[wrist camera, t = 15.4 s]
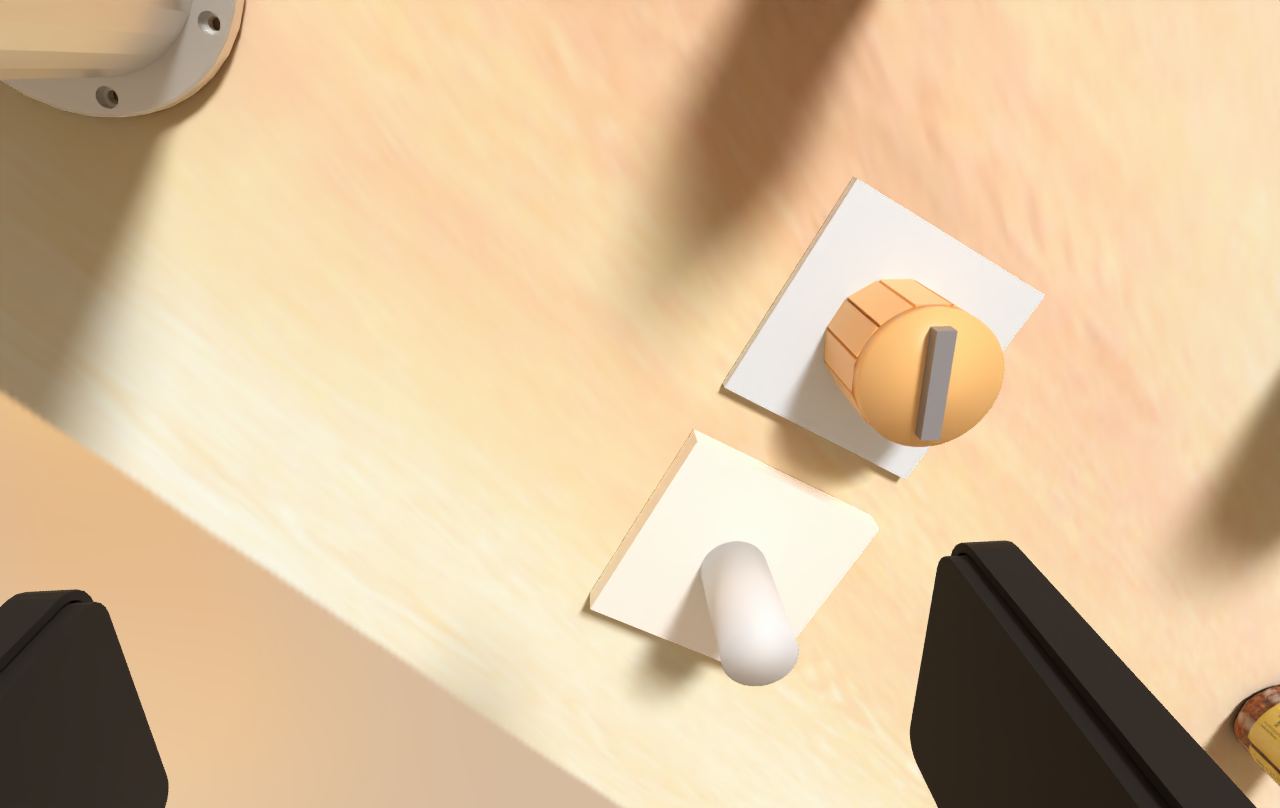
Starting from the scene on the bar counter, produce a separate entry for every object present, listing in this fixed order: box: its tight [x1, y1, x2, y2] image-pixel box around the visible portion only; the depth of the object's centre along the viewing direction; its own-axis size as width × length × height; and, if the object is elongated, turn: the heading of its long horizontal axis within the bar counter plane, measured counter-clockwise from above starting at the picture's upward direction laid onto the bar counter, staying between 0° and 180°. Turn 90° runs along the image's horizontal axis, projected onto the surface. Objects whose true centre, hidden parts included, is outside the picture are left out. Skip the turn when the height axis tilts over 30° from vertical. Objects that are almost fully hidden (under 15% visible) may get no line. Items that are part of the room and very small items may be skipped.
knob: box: [823, 279, 1004, 447], centre depth 37 cm, size 7×7×6 cm
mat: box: [723, 177, 1045, 479], centre depth 40 cm, size 12×12×1 cm
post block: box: [590, 429, 880, 686], centre depth 41 cm, size 12×12×8 cm
